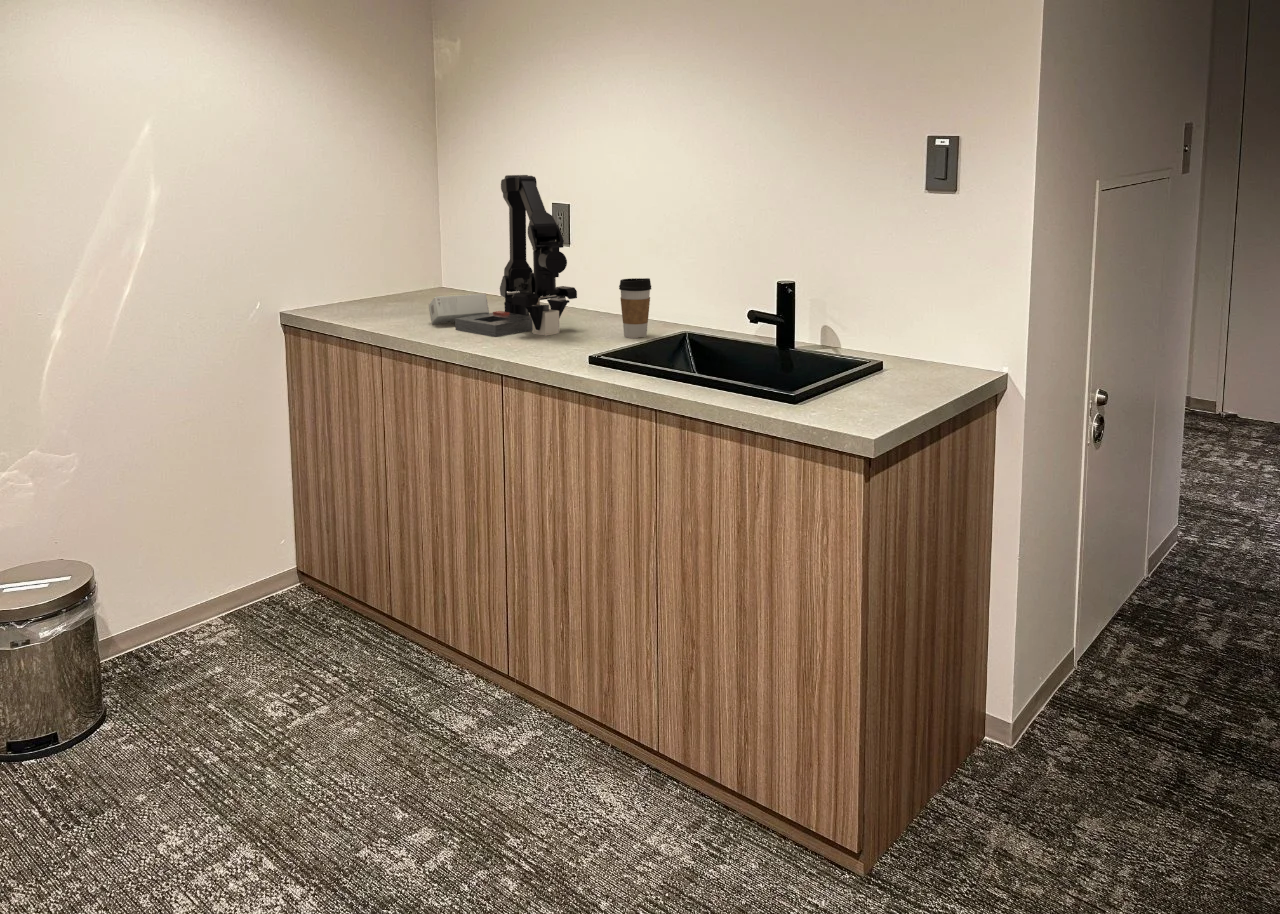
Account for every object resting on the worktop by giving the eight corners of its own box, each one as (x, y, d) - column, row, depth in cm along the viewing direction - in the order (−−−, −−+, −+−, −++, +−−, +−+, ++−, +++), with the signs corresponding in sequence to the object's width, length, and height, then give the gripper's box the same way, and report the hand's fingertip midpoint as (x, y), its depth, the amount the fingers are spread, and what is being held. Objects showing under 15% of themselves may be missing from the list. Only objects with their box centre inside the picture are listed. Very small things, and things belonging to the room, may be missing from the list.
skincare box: (436, 316, 314) (490, 313, 320) (433, 295, 315) (487, 292, 321) (430, 324, 322) (482, 321, 328) (427, 303, 323) (479, 300, 328)
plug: (546, 330, 311) (545, 303, 309) (559, 333, 308) (558, 304, 306) (532, 333, 308) (531, 305, 305) (545, 335, 304) (545, 307, 302)
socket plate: (499, 322, 324) (499, 309, 323) (539, 328, 314) (539, 315, 313) (455, 329, 313) (454, 316, 312) (495, 336, 303) (495, 323, 302)
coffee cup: (640, 340, 298) (640, 281, 293) (613, 337, 302) (612, 279, 298) (657, 335, 304) (657, 277, 300) (630, 332, 309) (630, 275, 304)
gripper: (548, 263, 315) (549, 320, 319) (496, 270, 301) (499, 329, 306) (577, 266, 308) (578, 325, 312) (526, 273, 294) (528, 334, 299)
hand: (545, 328), depth 307 cm, fingers open, 6 cm apart
